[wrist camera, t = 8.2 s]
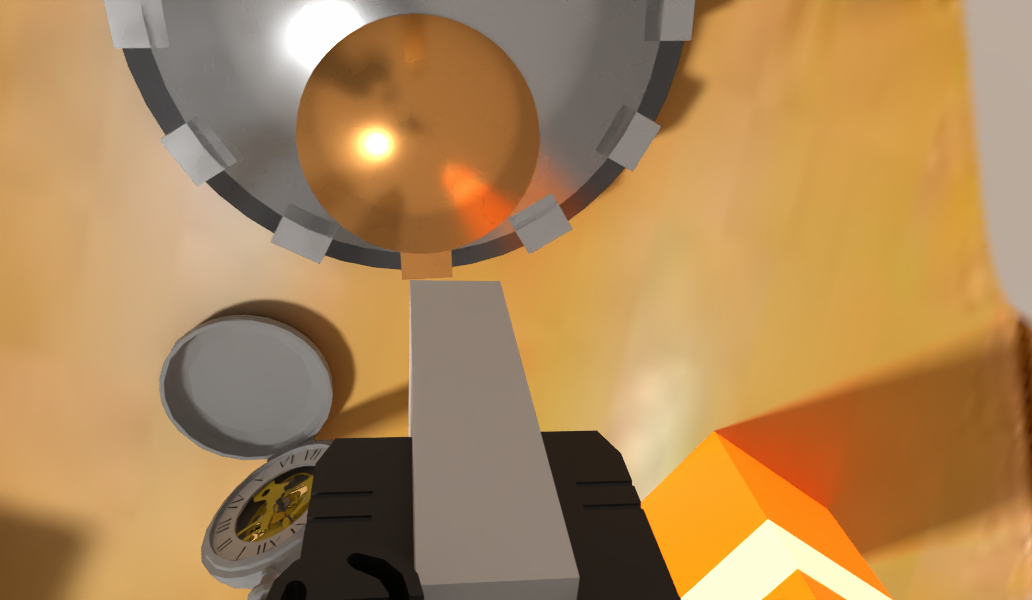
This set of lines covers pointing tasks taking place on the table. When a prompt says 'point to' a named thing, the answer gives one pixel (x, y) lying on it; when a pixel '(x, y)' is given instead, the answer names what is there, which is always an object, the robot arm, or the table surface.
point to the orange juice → (751, 534)
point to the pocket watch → (252, 436)
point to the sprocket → (406, 110)
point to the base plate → (236, 195)
